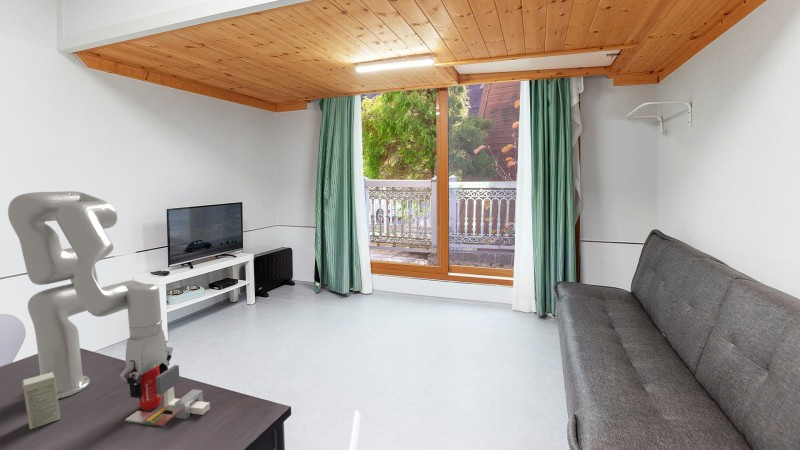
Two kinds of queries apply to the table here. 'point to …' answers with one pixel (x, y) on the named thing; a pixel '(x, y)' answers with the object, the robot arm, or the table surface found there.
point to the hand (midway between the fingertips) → (150, 387)
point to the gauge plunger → (166, 386)
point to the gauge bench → (178, 410)
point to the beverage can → (150, 390)
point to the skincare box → (41, 400)
